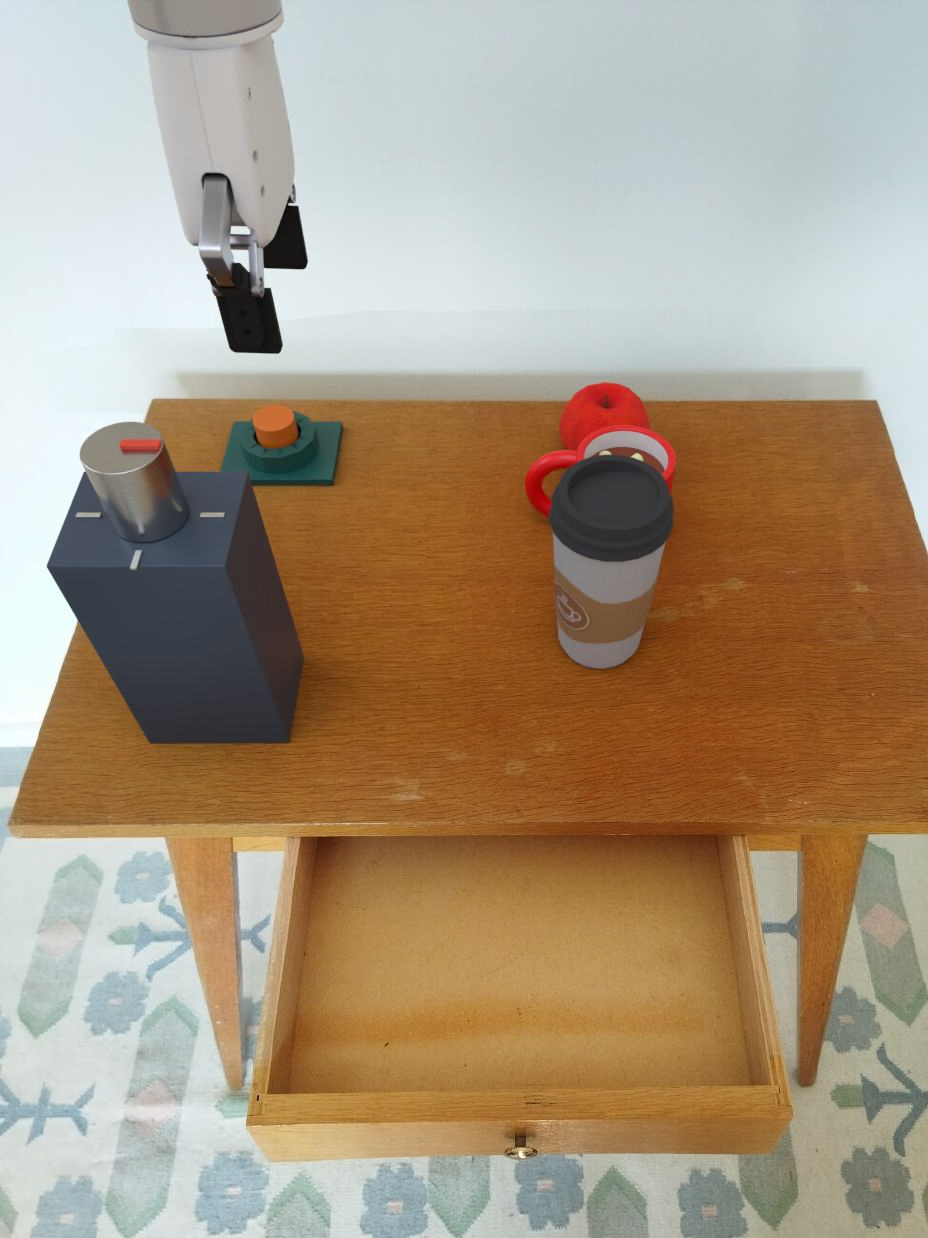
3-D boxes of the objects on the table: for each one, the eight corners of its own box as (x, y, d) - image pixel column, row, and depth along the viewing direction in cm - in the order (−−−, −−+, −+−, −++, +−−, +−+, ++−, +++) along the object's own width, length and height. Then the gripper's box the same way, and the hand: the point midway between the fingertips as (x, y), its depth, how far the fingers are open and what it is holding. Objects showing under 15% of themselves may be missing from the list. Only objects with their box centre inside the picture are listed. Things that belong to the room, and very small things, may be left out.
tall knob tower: (148, 747, 68) (42, 568, 53) (173, 653, 72) (83, 465, 58) (289, 746, 68) (223, 568, 53) (304, 652, 73) (248, 465, 58)
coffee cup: (523, 630, 74) (523, 481, 62) (606, 584, 77) (621, 433, 65) (590, 699, 70) (604, 555, 58) (674, 648, 73) (704, 500, 61)
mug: (528, 491, 83) (528, 417, 77) (665, 501, 83) (676, 427, 76) (519, 555, 79) (519, 482, 72) (663, 566, 78) (676, 493, 72)
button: (254, 450, 83) (249, 431, 81) (261, 424, 85) (255, 404, 84) (295, 450, 83) (291, 431, 81) (301, 424, 85) (296, 404, 84)
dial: (103, 542, 54) (66, 469, 50) (122, 490, 57) (89, 416, 52) (180, 542, 54) (151, 469, 50) (196, 490, 57) (169, 416, 52)
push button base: (219, 485, 83) (212, 463, 81) (235, 427, 88) (228, 404, 86) (333, 485, 84) (328, 463, 82) (343, 427, 88) (338, 404, 86)
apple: (593, 423, 89) (598, 353, 83) (663, 458, 86) (673, 388, 80) (540, 466, 85) (541, 396, 79) (611, 504, 82) (618, 435, 76)
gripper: (169, -70, 53) (240, 237, 66) (75, 54, 42) (182, 385, 56) (305, -65, 53) (347, 240, 66) (243, 59, 42) (308, 389, 56)
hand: (271, 306), depth 61 cm, fingers open, 9 cm apart
